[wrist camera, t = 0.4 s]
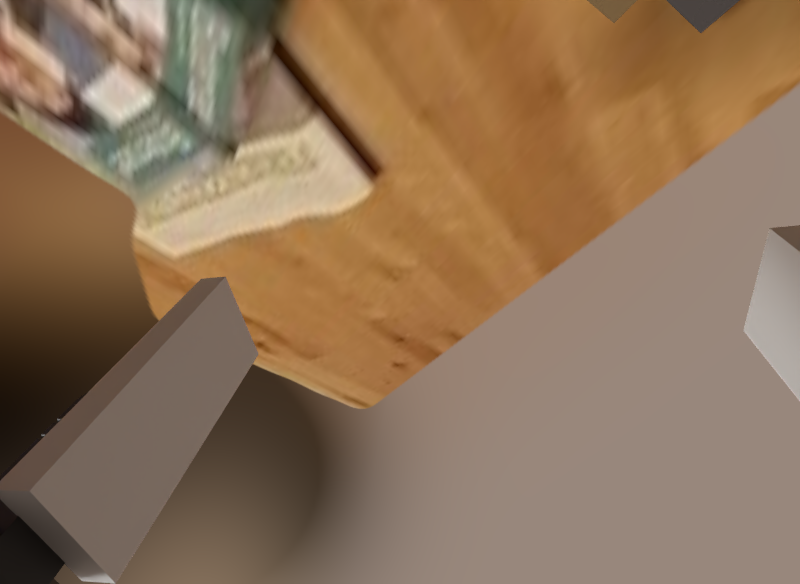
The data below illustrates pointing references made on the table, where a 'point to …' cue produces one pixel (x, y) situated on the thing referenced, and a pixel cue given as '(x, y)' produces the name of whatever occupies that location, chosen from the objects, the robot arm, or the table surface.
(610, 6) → the square socket fixture
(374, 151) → the table surface
